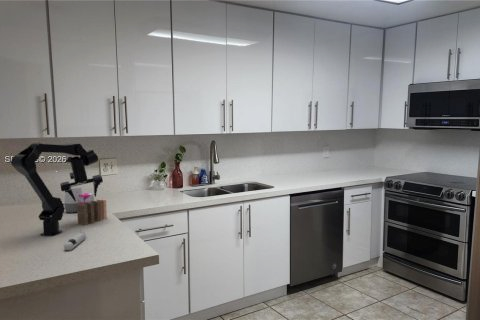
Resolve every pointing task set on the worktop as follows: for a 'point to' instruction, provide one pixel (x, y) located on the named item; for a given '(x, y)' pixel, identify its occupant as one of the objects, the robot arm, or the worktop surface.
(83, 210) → the domino
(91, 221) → the domino
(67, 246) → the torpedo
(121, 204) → the worktop surface
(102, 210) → the end domino
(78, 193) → the smart speaker
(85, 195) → the supplement box
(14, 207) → the worktop surface
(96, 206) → the domino
